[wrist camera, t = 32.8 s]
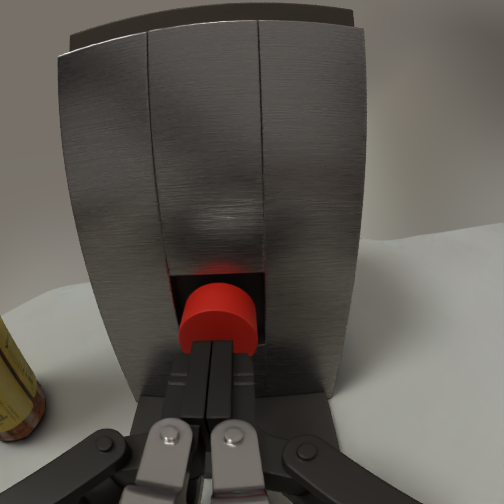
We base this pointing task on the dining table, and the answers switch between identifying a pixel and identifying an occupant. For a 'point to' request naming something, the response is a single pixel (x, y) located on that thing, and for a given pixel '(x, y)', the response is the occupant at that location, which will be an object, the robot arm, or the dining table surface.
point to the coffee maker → (221, 188)
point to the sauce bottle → (17, 391)
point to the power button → (219, 318)
